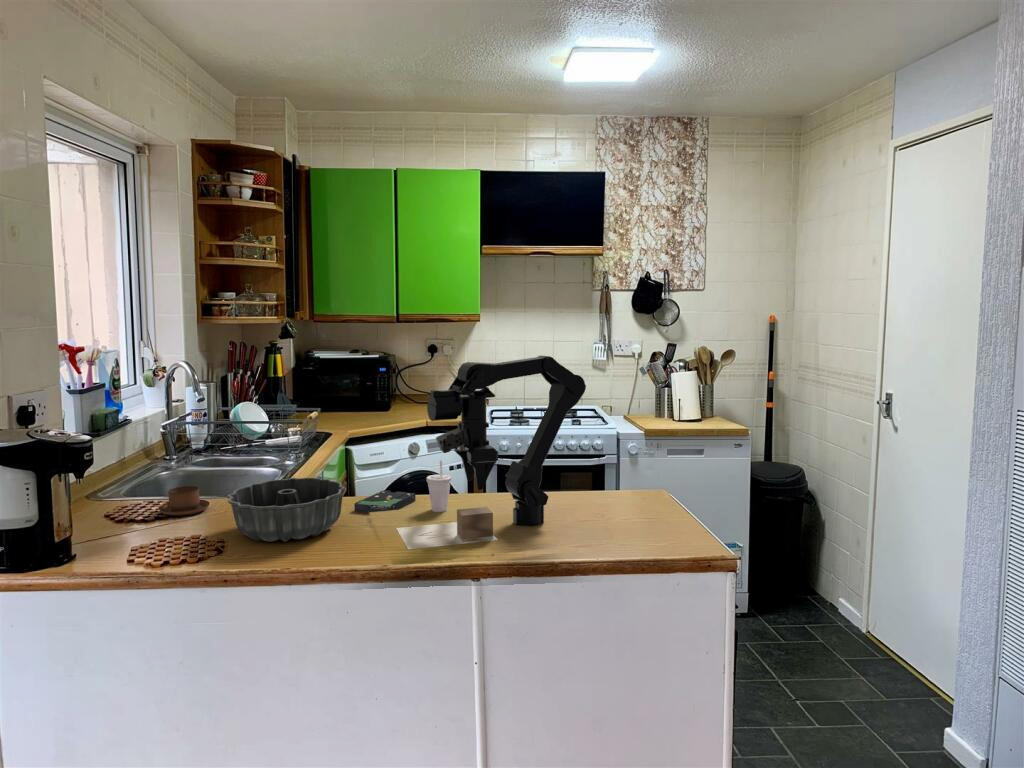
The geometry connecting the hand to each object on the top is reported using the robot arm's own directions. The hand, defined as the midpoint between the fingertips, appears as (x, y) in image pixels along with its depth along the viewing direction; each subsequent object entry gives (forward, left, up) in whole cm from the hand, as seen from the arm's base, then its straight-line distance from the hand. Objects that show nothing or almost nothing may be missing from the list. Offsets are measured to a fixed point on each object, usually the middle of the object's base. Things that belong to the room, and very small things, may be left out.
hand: (474, 485), depth 170 cm
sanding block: (+1, +5, -11) cm, 12 cm away
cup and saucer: (+66, -44, -12) cm, 81 cm away
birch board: (+7, 0, -12) cm, 14 cm away
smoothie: (+4, -20, -12) cm, 24 cm away
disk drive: (+16, -32, -13) cm, 38 cm away
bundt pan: (+41, -18, -12) cm, 46 cm away
